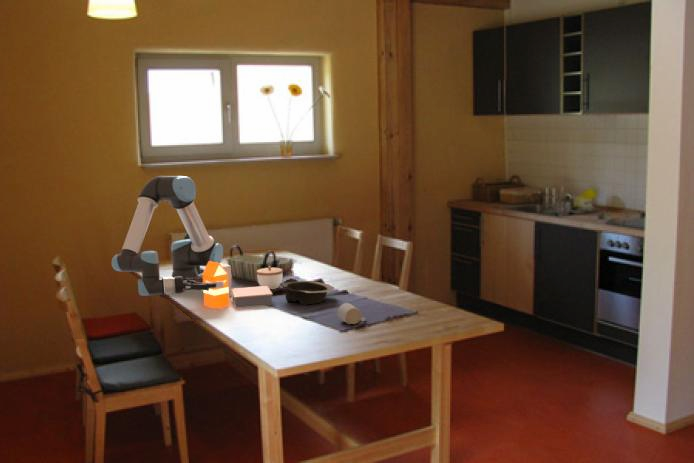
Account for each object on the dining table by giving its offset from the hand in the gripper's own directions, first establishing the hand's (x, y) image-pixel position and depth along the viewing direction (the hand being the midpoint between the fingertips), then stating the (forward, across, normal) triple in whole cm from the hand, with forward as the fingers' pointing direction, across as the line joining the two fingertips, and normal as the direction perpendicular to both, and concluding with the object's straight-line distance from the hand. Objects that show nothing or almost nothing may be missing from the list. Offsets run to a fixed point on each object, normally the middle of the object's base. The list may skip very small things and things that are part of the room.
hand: (222, 281), depth 359 cm
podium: (+13, -1, -11) cm, 17 cm away
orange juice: (-3, 0, -11) cm, 12 cm away
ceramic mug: (+48, +48, -11) cm, 69 cm away
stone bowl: (+38, +5, -11) cm, 40 cm away
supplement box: (0, -17, -11) cm, 20 cm away
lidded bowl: (+25, -25, -11) cm, 37 cm away
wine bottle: (-10, -76, -11) cm, 77 cm away
